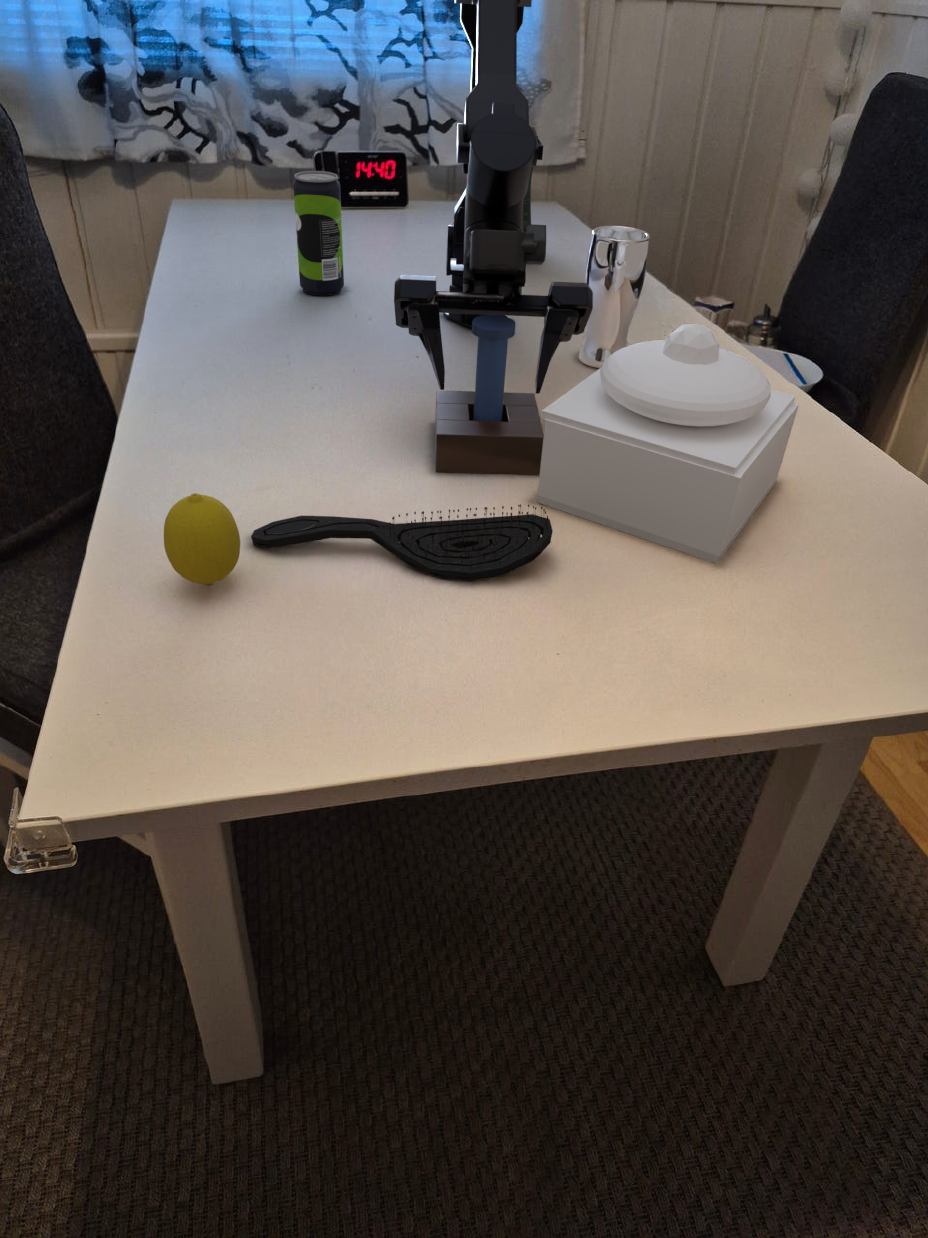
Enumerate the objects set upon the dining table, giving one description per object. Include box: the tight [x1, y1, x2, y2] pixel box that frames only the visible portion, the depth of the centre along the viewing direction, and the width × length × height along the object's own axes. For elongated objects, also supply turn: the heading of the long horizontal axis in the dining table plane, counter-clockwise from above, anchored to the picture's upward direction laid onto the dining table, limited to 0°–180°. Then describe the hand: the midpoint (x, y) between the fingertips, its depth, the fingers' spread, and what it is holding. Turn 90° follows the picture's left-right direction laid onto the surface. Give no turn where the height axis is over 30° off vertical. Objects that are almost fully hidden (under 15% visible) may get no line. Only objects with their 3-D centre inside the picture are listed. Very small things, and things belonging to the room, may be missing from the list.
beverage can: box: [292, 170, 345, 297], centre depth 122 cm, size 6×6×15 cm
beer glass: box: [578, 225, 651, 369], centre depth 105 cm, size 7×7×15 cm
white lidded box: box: [536, 323, 800, 564], centre depth 79 cm, size 18×18×16 cm
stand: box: [434, 389, 544, 476], centre depth 88 cm, size 10×10×4 cm
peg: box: [471, 315, 517, 422], centre depth 85 cm, size 4×4×13 cm
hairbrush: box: [250, 503, 553, 582], centre depth 73 cm, size 8×4×25 cm
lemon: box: [163, 492, 241, 586], centre depth 67 cm, size 6×6×8 cm
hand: (490, 389), depth 84 cm, fingers open, 9 cm apart
